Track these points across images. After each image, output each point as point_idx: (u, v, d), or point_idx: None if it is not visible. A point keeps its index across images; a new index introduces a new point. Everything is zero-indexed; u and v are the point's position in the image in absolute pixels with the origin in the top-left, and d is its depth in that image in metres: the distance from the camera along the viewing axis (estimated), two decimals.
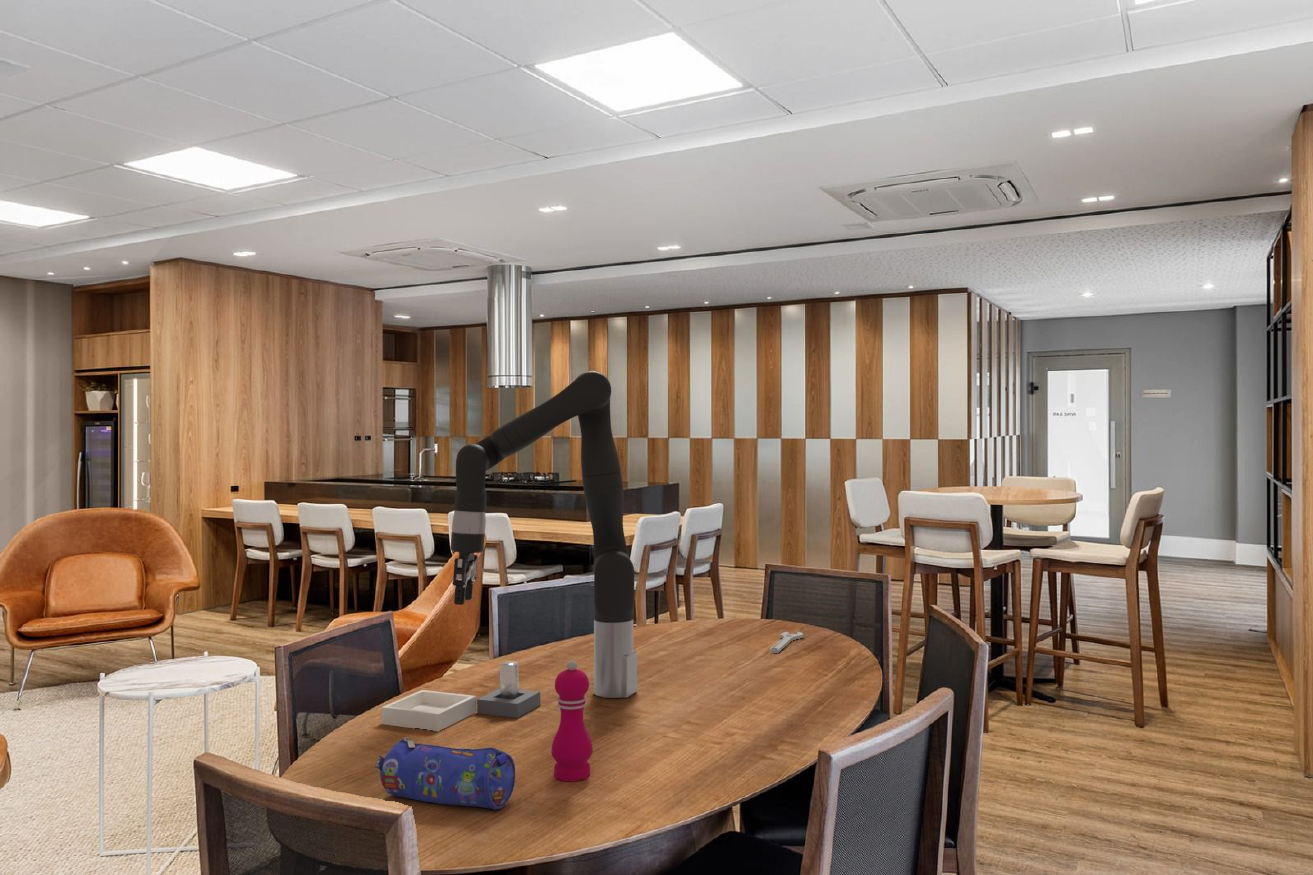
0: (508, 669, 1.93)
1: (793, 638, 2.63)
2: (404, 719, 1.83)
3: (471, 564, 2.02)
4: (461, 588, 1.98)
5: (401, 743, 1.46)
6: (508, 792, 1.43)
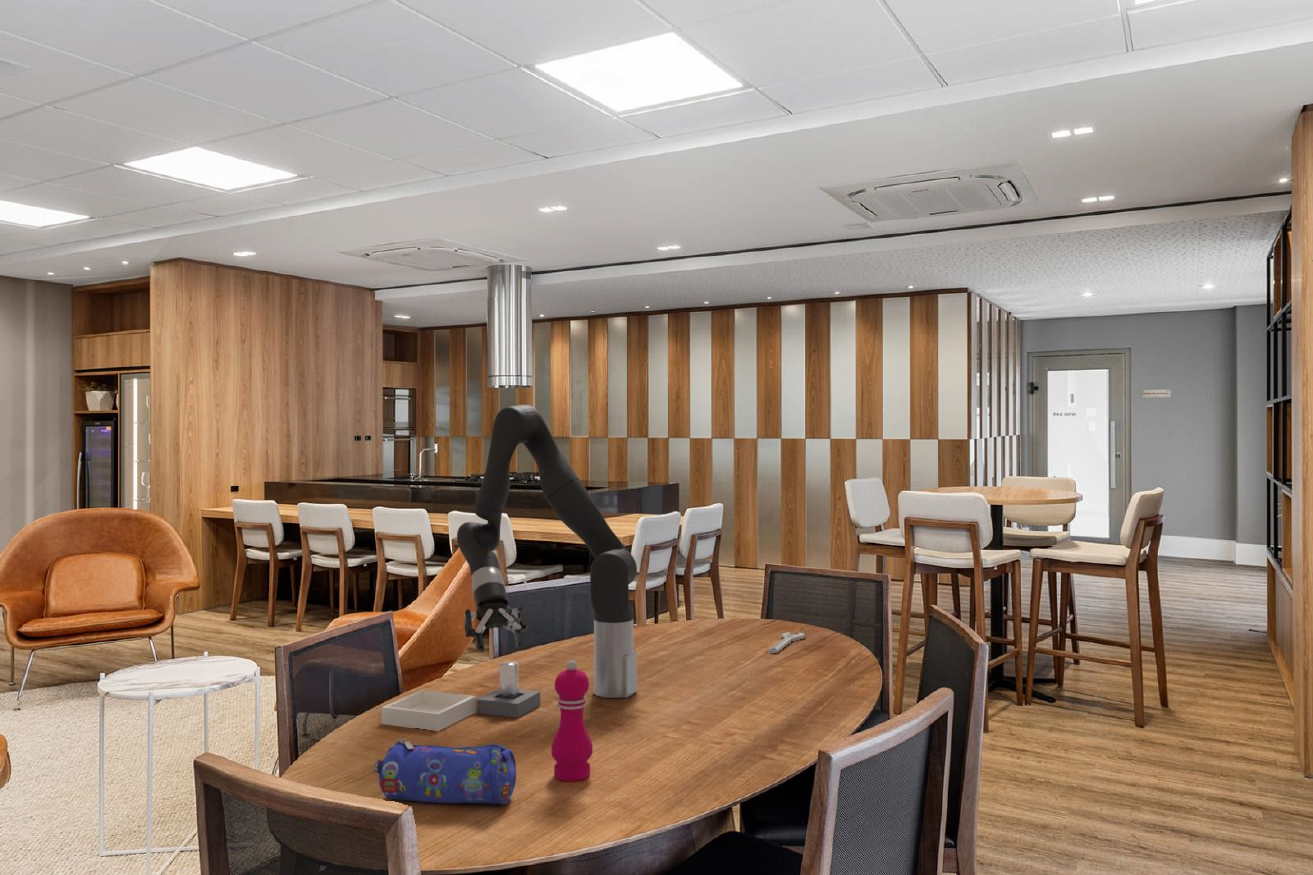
0: (508, 669, 1.93)
1: (794, 639, 2.62)
2: (404, 719, 1.83)
3: (486, 612, 2.06)
4: (475, 635, 2.02)
5: (399, 745, 1.45)
6: (512, 787, 1.45)
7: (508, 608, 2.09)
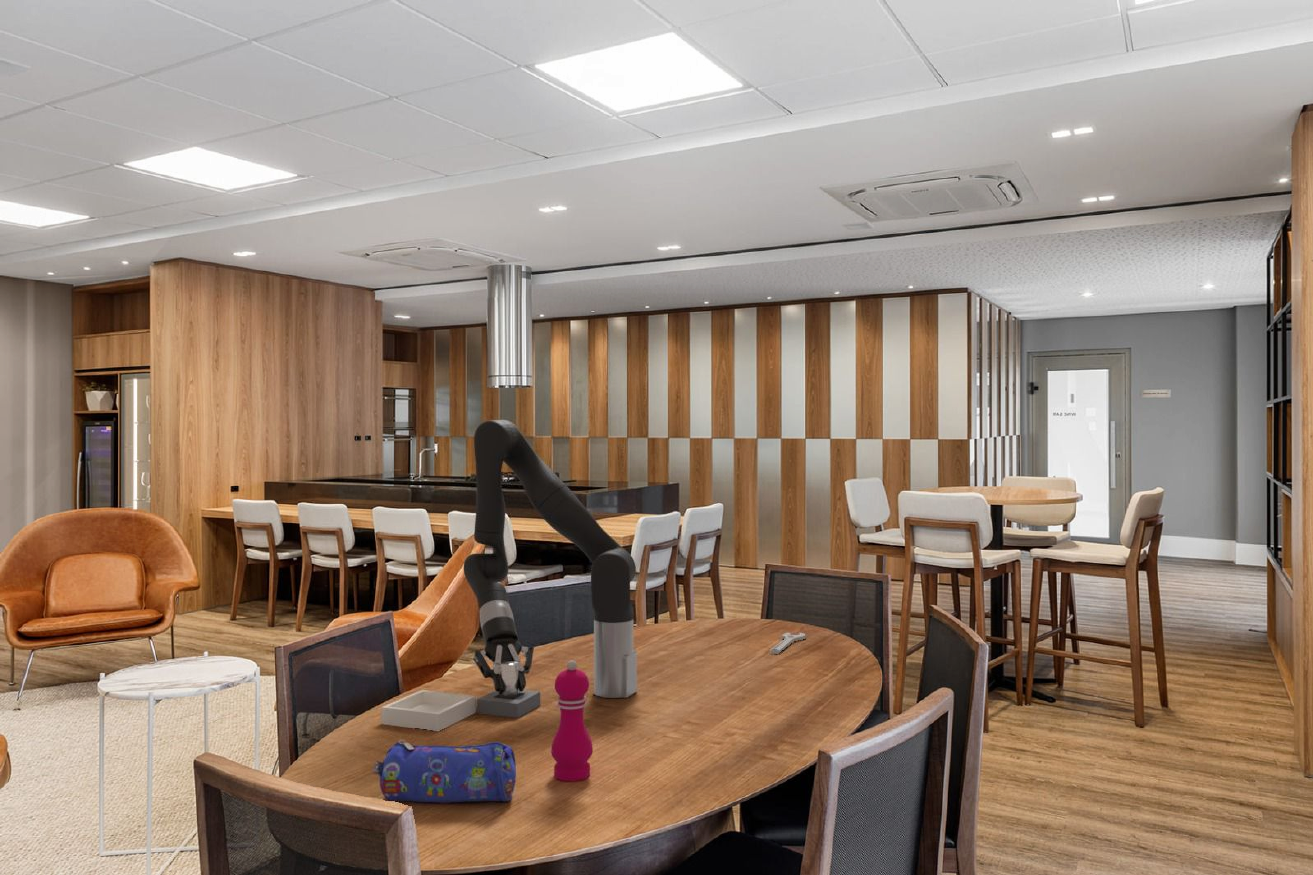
0: (508, 669, 1.93)
1: (795, 639, 2.61)
2: (404, 719, 1.83)
3: (496, 650, 1.97)
4: (493, 676, 1.94)
5: (398, 746, 1.45)
6: None
7: (518, 644, 2.01)
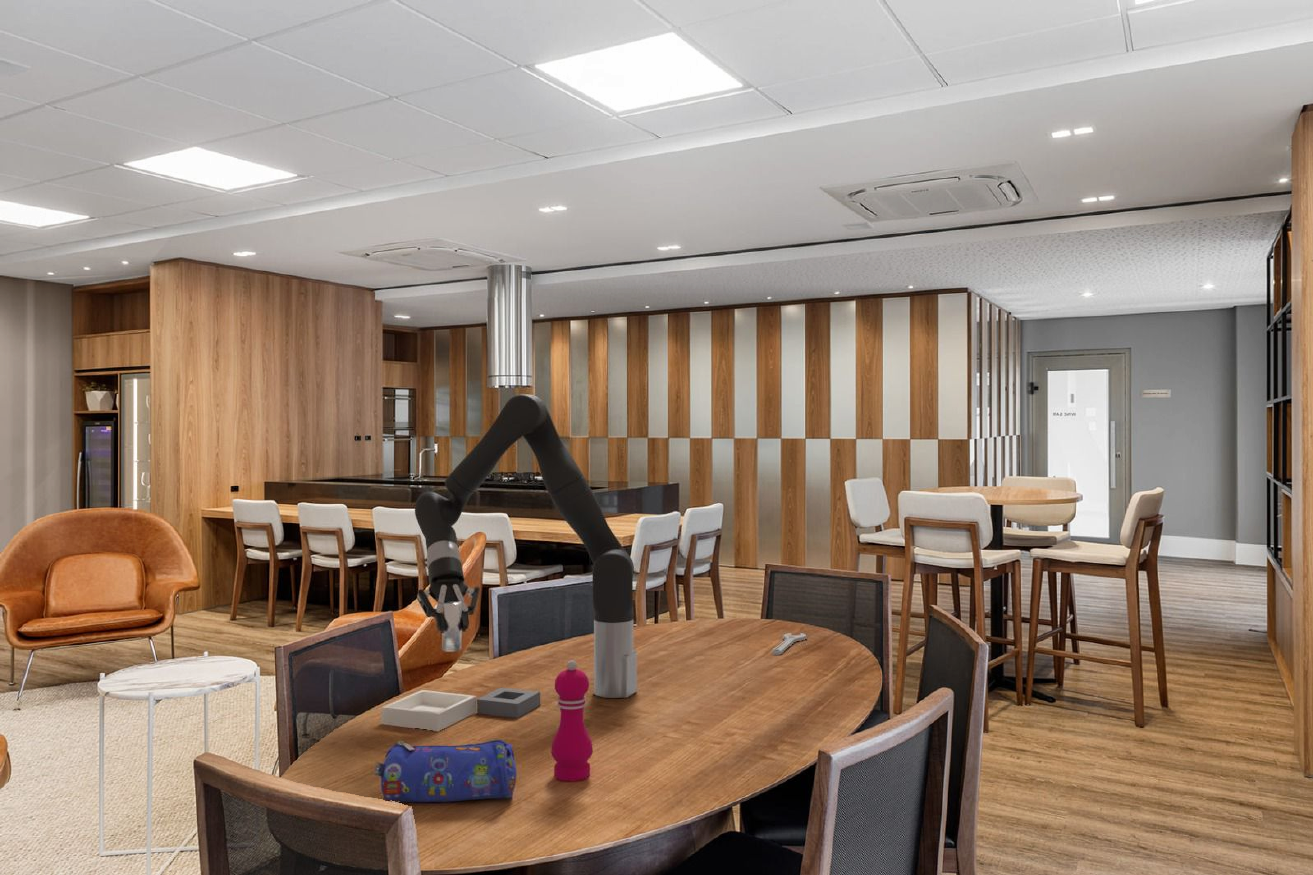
0: (451, 608, 1.89)
1: (796, 639, 2.61)
2: (404, 719, 1.83)
3: (440, 589, 1.94)
4: (435, 615, 1.90)
5: (398, 747, 1.44)
6: None
7: (464, 585, 1.97)
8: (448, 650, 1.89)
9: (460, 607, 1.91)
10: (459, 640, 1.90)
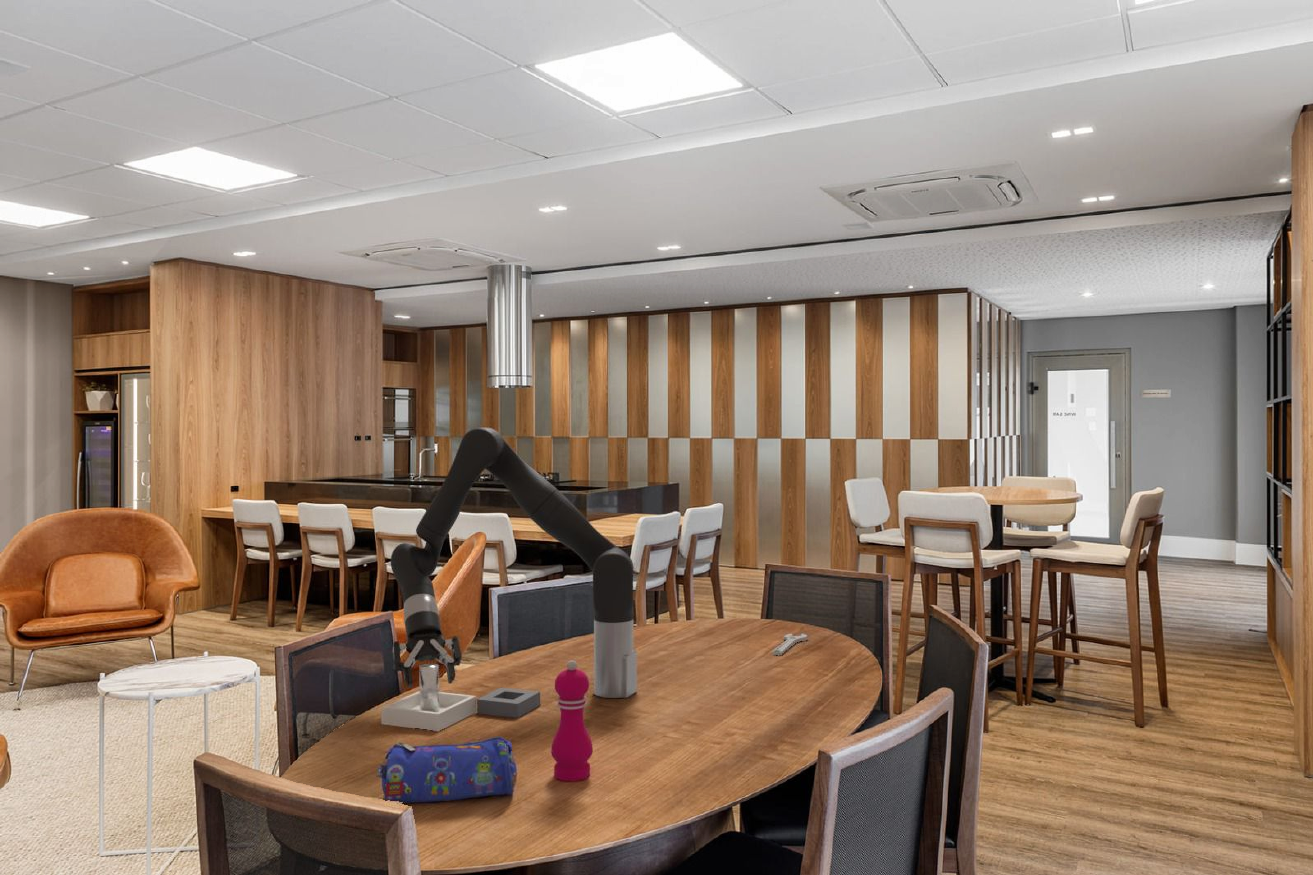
0: (427, 671, 1.87)
1: (797, 640, 2.60)
2: (404, 719, 1.83)
3: (416, 644, 1.91)
4: (403, 669, 1.87)
5: (398, 748, 1.44)
6: None
7: (441, 639, 1.95)
8: None
9: (437, 670, 1.88)
10: (437, 703, 1.88)
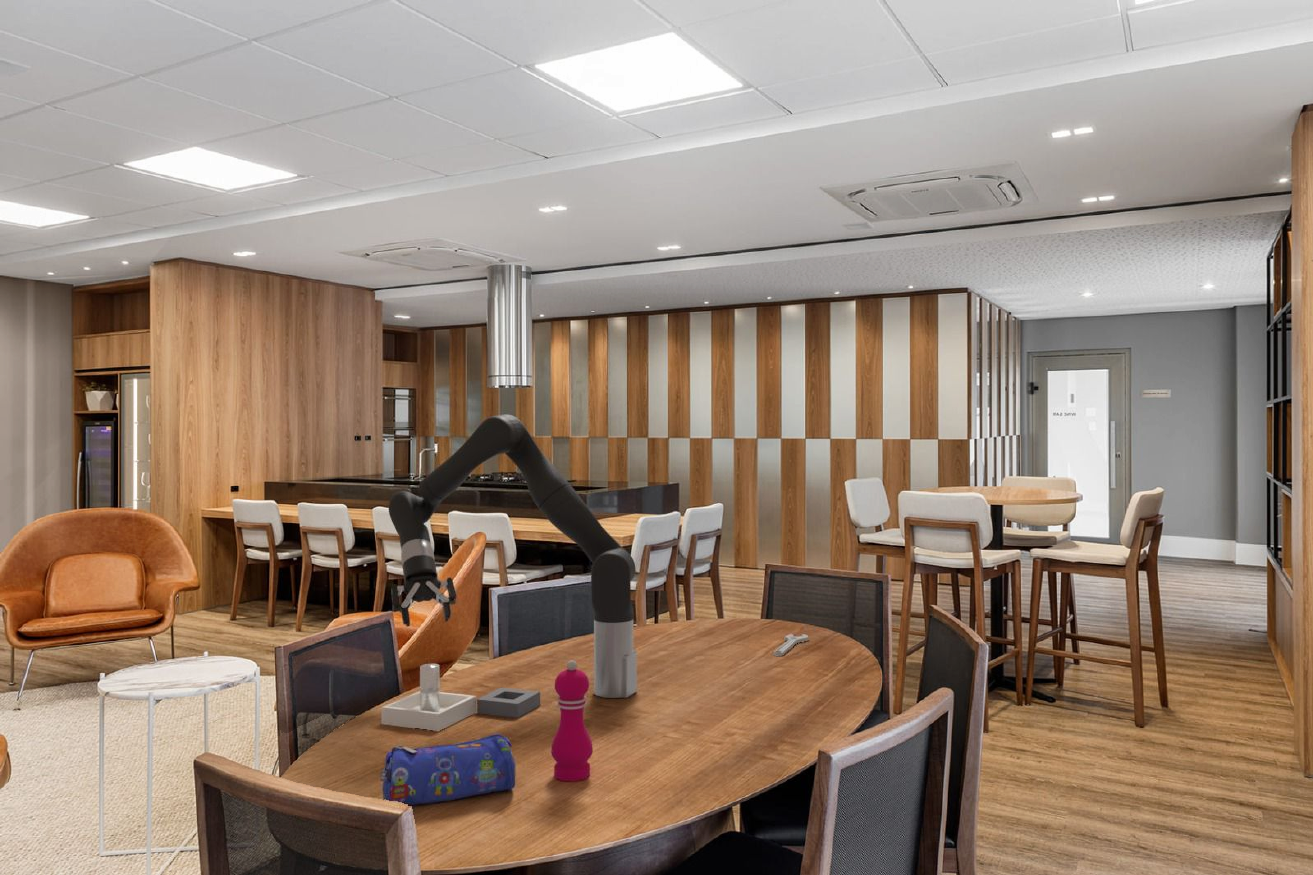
0: (428, 671, 1.87)
1: (798, 641, 2.59)
2: (404, 719, 1.83)
3: None
4: (401, 610, 2.01)
5: (399, 751, 1.42)
6: None
7: (436, 581, 2.07)
8: None
9: (437, 670, 1.88)
10: (437, 704, 1.88)
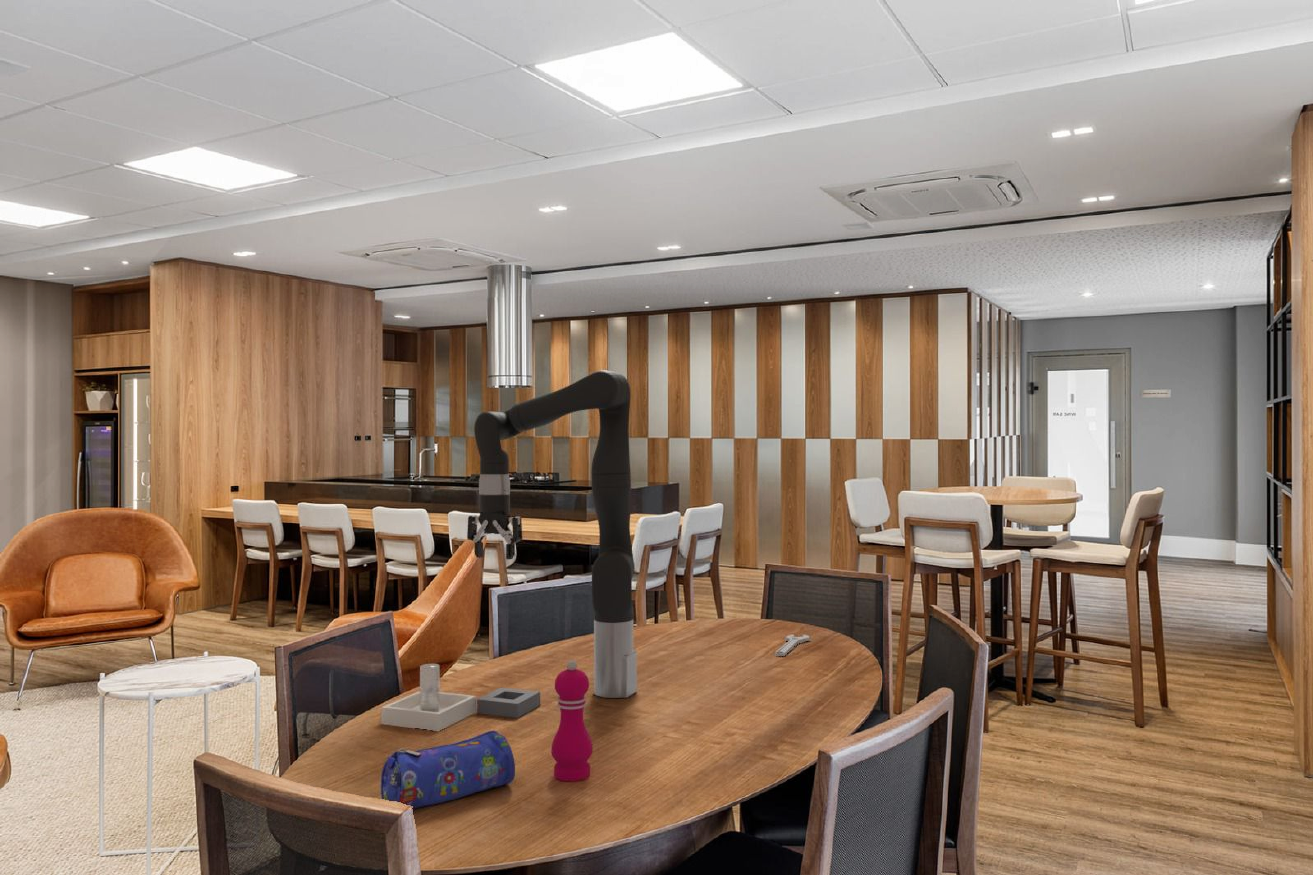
0: (428, 671, 1.87)
1: (799, 641, 2.59)
2: (404, 719, 1.83)
3: None
4: None
5: (403, 755, 1.41)
6: None
7: (504, 519, 2.17)
8: None
9: (437, 670, 1.88)
10: (437, 704, 1.88)
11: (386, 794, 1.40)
